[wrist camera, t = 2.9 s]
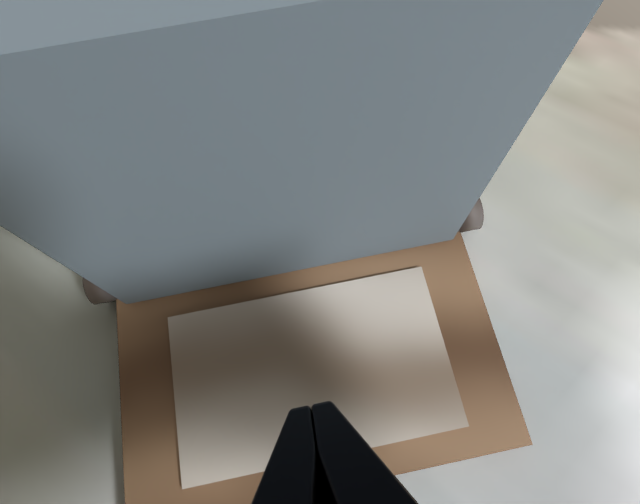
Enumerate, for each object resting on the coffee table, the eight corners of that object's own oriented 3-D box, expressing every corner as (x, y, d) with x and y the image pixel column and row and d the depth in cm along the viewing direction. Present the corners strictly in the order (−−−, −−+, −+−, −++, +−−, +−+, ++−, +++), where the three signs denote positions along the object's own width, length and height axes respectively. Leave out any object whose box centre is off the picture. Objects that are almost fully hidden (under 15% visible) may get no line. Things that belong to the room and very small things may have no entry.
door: (452, 239, 19) (636, -53, 7) (126, 304, 18) (-215, 91, 7) (437, 191, 19) (581, -138, 8) (123, 252, 19) (-186, -17, 8)
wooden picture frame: (545, 438, 17) (568, 439, 15) (112, 534, 16) (87, 546, 15) (462, 204, 21) (474, 183, 19) (103, 273, 20) (82, 259, 18)
